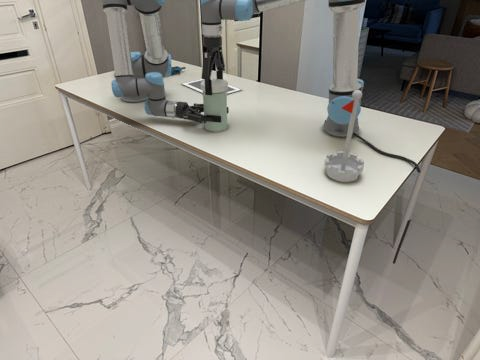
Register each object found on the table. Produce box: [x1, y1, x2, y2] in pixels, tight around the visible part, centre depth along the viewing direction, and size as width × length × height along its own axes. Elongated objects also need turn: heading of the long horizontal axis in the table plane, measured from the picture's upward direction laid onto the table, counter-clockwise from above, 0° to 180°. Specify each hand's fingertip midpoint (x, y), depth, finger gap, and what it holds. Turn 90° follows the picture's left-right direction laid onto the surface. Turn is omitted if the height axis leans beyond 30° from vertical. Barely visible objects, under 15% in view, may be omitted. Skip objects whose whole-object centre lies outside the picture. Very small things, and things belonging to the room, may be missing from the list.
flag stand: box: [323, 90, 365, 183], centre depth 111 cm, size 13×13×30 cm
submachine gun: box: [171, 65, 187, 75], centre depth 224 cm, size 34×4×25 cm
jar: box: [202, 90, 228, 133], centre depth 148 cm, size 10×10×19 cm
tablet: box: [181, 77, 242, 95], centre depth 200 cm, size 32×20×1 cm, turn 41°
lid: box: [201, 78, 229, 93], centre depth 143 cm, size 12×12×2 cm
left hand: (224, 114), depth 149 cm, fingers closed on jar, 10 cm apart
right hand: (214, 90), depth 144 cm, fingers closed on lid, 11 cm apart
